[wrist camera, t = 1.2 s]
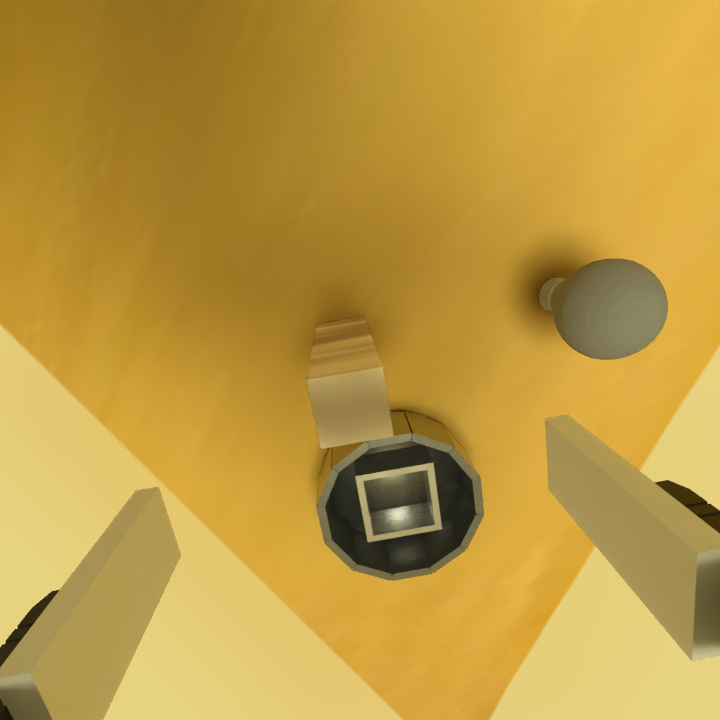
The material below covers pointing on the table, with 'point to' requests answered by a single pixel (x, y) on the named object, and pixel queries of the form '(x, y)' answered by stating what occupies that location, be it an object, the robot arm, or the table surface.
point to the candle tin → (400, 500)
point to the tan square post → (347, 384)
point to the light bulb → (607, 308)
